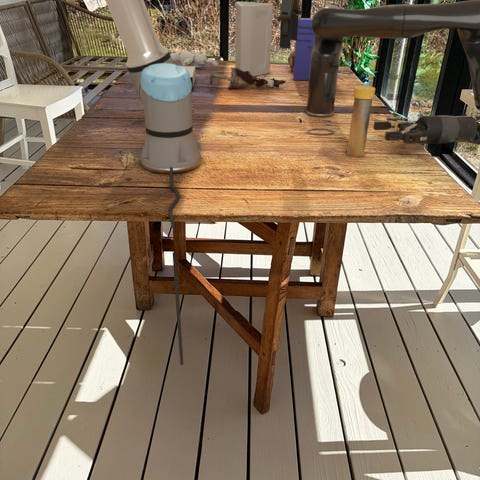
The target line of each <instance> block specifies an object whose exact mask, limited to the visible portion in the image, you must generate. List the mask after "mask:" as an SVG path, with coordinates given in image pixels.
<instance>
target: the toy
mask: <svg viewBox="0 0 480 480" xmlns="http://www.w3.org/2000/svg"><path fill="white" fill-rule="evenodd" d="M170 55H171V58H172V61H173V63H176V62H177V63H179V64H180V66H191V65H192V64H193V66H195V69H201V66H204V65H207V64H212V65H213V66H214V67H216V68H217V67H218V66H219V63H218V62H217V61H216V60H215V59H213V58H207V56H206V55H205V54H202V53H201V51H197V52H196V53H193V52H190V51H187V50H184V51H177V52H172V53H170Z"/></svg>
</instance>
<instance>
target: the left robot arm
mask: <svg viewBox="0 0 480 480" xmlns="http://www.w3.org/2000/svg"><path fill="white" fill-rule="evenodd" d="M104 1H105V3H106V5H107V8H108V11H109V13H110V15H111V18H112V20H113V23H114V25H115V27H116V30H117V33H118V35H119V37H120V39H121V42H122V44H123V46H124V49H125V51H126V54H127V56H128V57H127V60H126V63H125V66H126V69H127V71H128V74H129V76H130V78H131V81H132V83H133V88H134V91H135V93H136V94H137V96H138V98H139V99H140V101H141V103H142V106H143V115H144V125H145V126H144V127H145V138H144V142H143V146H142V150H141V154H140V162H141V166H142V168H144V169H145V170H146V171H149V172H151V173H156V174H163V175H164V174H165V175H169V186H170V188H171V190H172V191H173V192H174V193H175V196H176V197H175V198H174V200H173V201H172V202H171V203H170V205H169V206H168V213H167V214H168V216H169V220H170V228H171V229H175V228H176V225H175V217H174V214H173V208H174V207H175V205H176V204H177V203H178V202H179V200H180V192H179V191H178V189H177V188H176V187H175V185H174V175H175V174H182V173H187V172H190V171H193V170H195V169H197V168H198V167H199V166H201V163H202V155H201V151H202V145H201V144H200V143H199V142H197V141H196V137H195V135H194V130H193V129H194V126H193V101H192V100H193V99H192V98H193V97H192V90H191V89H192V82H191V78H190V74H189V72H188V70H187V69H185V68H184V67H182V65H177V64H175V62H173V61H172V58H171V55H170V54H171V52H170V50H169V48H167V47H166V46H164V45H162V44H161V42H160V40H159V38H158V35H157V32H156V29H155V27H154V25H153V22H152V19H151V16H150V14H149V10H148V8H147V5H146V3H145V0H104ZM300 5H301V0H281V3H280V11H279V16H277V21H279V22H280V26H279V27H280V31H279V49H291V43H292V42H291V41H296V40H297V33H298V18H300V16H301V15H302V10H301V6H300ZM299 15H300V16H299ZM172 265H173V266H172V268H173V279H174V295H175V309H176V311H175V312H176V322H177V323H176V324H177V339H178V351H179V365H180V366H183V365H184V352H183V339H182V338H183V336H182V321H181V305H180V292H179V291H180V290H179V277H178V261H177V252H172Z"/></svg>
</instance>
